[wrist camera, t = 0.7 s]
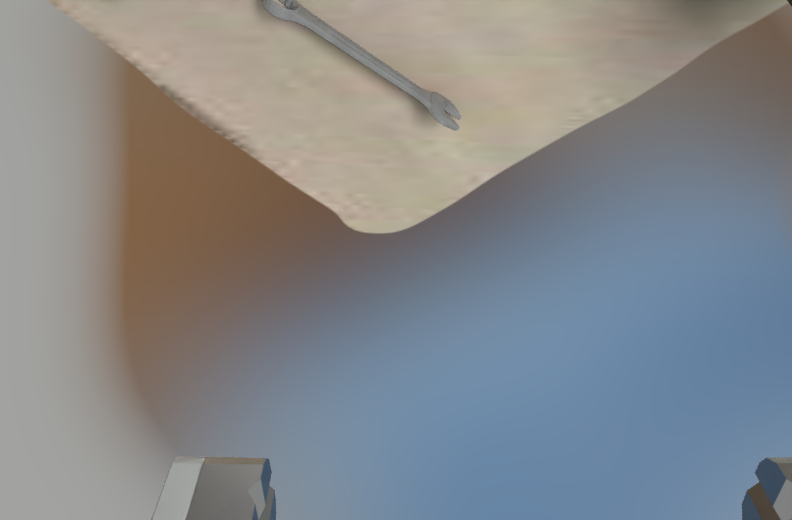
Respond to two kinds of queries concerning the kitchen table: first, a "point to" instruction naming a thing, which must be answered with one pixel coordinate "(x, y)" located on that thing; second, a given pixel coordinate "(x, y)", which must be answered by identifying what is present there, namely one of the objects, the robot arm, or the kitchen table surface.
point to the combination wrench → (365, 59)
